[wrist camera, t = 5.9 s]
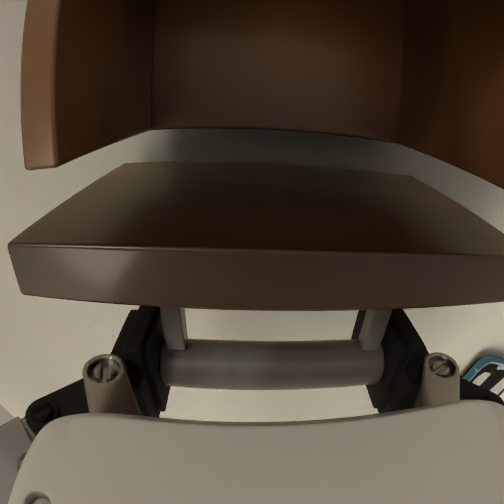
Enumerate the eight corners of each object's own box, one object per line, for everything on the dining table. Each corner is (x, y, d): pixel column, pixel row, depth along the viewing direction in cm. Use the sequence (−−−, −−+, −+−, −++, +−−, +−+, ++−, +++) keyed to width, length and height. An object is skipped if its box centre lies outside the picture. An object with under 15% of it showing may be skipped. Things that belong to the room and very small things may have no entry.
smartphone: (370, 467, 23) (486, 360, 17) (368, 459, 24) (480, 351, 18) (422, 463, 25) (526, 366, 18) (420, 456, 25) (521, 359, 19)
